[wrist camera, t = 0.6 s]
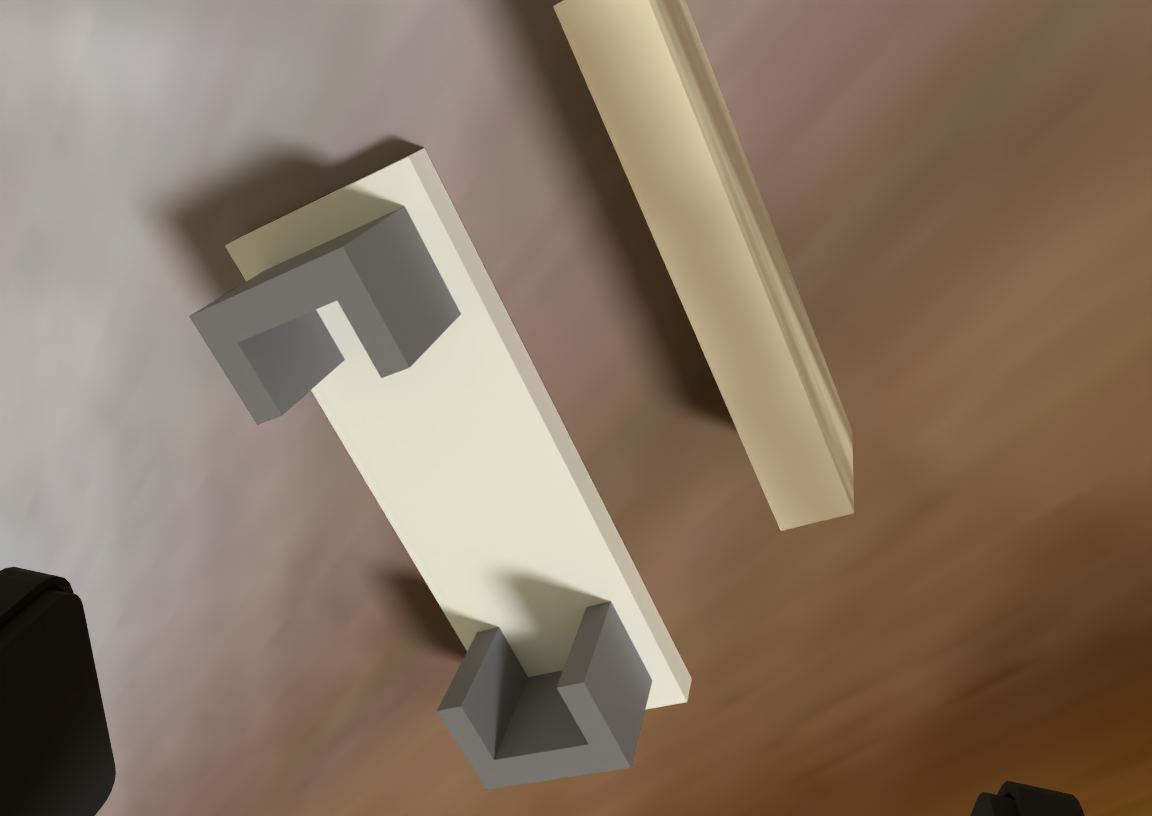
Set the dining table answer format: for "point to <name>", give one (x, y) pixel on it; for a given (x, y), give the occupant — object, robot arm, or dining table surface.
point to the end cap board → (456, 466)
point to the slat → (717, 246)
